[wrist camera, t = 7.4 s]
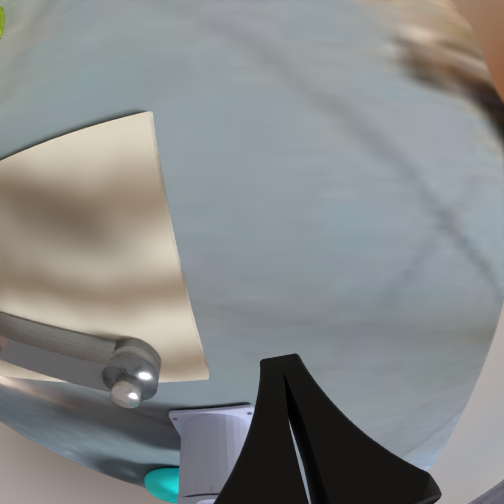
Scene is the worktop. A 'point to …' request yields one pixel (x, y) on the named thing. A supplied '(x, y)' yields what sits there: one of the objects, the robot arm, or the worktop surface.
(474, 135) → the worktop surface
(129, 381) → the link
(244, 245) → the worktop surface
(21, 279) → the hinge board
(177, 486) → the donuts
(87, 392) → the worktop surface
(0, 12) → the soap dispenser
